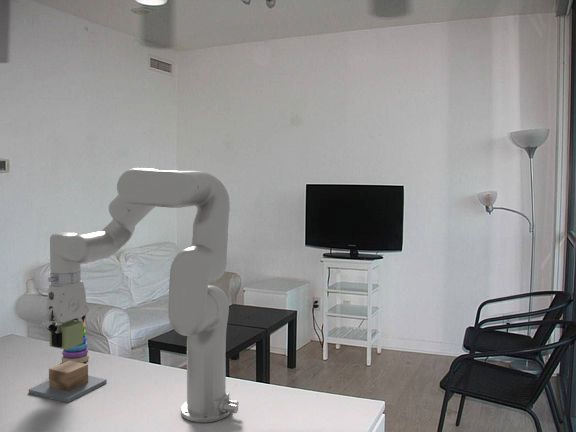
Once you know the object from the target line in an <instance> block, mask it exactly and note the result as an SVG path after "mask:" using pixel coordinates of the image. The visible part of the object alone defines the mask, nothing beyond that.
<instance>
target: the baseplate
mask: <svg viewBox="0 0 576 432" xmlns="http://www.w3.org/2000/svg"><path fill="white" fill-rule="evenodd" d="M105 384H107V379H106V378H102V377H101V378H100V377H96V376H92V375H88V382H87V383H85V384H83V385H81V386H79V387H77V388H74V389H72V390H70V391H65V390H61V389H57V388H53V387H49V380H47V381H45V382H43V383H40V384H38V385H36V386H33V387H31V388H29V389H28V394H30V395H31V394H32V395H35V396H38V397H43V398H45V399H46V398H47V399H51V400H55V401H58V402H63V403H65V404H67V403H70V402H72V401H74V400H76V399H78V398H80V397H82V396H85V394H87V393H90V392H92V391H94V390H96V389H97V388H99V387H101V386H104V385H105Z"/></svg>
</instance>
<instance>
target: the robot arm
mask: <svg viewBox="0 0 576 432" xmlns="http://www.w3.org/2000/svg"><path fill="white" fill-rule="evenodd" d="M116 191H117V194H118V195H116V196H115V198H114V199H113V200H112V201H111V202H110V203H109V204H108V213H109V215H110V216H111V218H112V220H111V221H110V222H109V223H108V224H107V225H106V226H105V227H104V228H103V229H101V230H100V231H94V232H88V233H82V234H79V233H76V232H71V231H64V232H63V231H62V232H61V231H60V232H55V233H52V234H51V235H50V238H49V260H50V261H49V267H50V268H49V269H50V272H49V273H50V274H49V276H50V277H48V278H47V279H48V283H50V284H49V286H48V288H47V289H48V291H47V297H46V314H45V315H44V317H43V319H42V321H41V322H40V323H41V325H42V326H43V327H45V328H46V330H47V331H48V333H49V332H51V338H52V346H54V347H53V348H56V347H58V348H57V349H60V347H62V333H60V330H61V326H62V323H65V322H68V321H71V320H75V321H81V322H83V321H84V322H85V319H86V318H87V317H86V316H87V314H88V313H89V311H90V308H89V307H88V306H87V297H86V296H87V295H86V294H87V293H86V289H85V285H84V281H83V280H81V277H82V276H81V275H82V273H81V269H82V268H81V264H87V263H92V262H95V261H98V260H100V261H101V260H104V259H108V258H110V257H111V256H113V255H114V254H116V253H117V252H118V251H119V250H121V248H122V247H124V246H125V245H126V244H127V243H128V242H129V241H130V240H131V238H132V236H133V235H134V233H135V229H136V226H137V225H138V224H139V223H140V222H141V221H142V220H144V218H145V217H146V216H147V215H148V214H149V213H151V211H153V209H154V208H155V207H159V208H170V209H177V208H178V209H179V208H180V209H181V208H188V207H189V208H190V207H193V206H194V207H196V209H197V210H196V214H195V217H194V220H193V224H192V238H191V246H190V247H187V248H184V249H181V250H180V251H179V252H178V253H177V254H176V255H175V256H174V259H173V260H172V263H171V265H170V269H169V285H168V306H167V308H168V310H167V313H168V315H167V316H168V320H169V323H170V325H171V327H172V329H174V331H175V333H177V334H179V335H181V336H184V337H185V336H186V337H187V339H186V401H185V402H184V403H183V404H182V405H181V407H180V415H181V416H182V417H183V418H184V419H185V420H187V421H190V422H193V423H213V422H216V421H220V420H223V419H224V418H227V417H228V416H229V415H230V414H237V413H238V411H239V401H238V400H232V399H231V398H230V392H227V391H226V386H227V385H226V383H227V382H226V380H227V379H226V377H227V375H226V373H227V372H226V371H227V370H226V367H227V366H226V362H227V361H226V360H227V358H226V349H227V346H226V345H227V328H228V321H229V314H230V313H229V311H230V304H229V303H230V302H229V299H228V296H227V294H226V292H225V291H224V290H223V289H221V288H220V287H219V286H216V285H212V284H211V283H213V282H215V281H217V280H219V279H221V278H222V277H223V275H224V274H225V272H226V269H227V263H228V262H227V261H228V243H229V242H228V241H229V238H228V237H229V222H230V221H229V219H230V209H231V208H230V205H231V204H230V198H229V197H230V196H229V193H228V191H227V188H226V186H225V185H224V183H223V182H222V181H221V180H219V179H218V178H217V177H216V176H215V175H212V174H210V173H208V172H205V171H199V170H159V169H156V168H149V167H148V168H146V167H144V168H143V167H141V168H140V167H134V168H133V167H132V168H130V169H127V170H126V171H124V172H123V173H122V174H121V175H120V176H119V178H118V181H117V185H116ZM209 284H210V285H209ZM56 323H57V326H56V327H55V325H56Z"/></svg>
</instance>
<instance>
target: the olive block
mask: <svg viewBox="0 0 576 432" xmlns="http://www.w3.org/2000/svg"><path fill="white" fill-rule="evenodd" d="M83 324H84V323H83V322H81V321H75V320H71V321H68V322H65V323H62V326H61V330H60V333H62V347H60V348H58V347H54V346H52V338H51V332H49V331H48V333H49V347H52V348H57V349H59V350H61V349H62V350H64V349H65V350H67V349H69V348H72V347H75V346H77V345H80V344H82V343H83ZM56 326H57V323H56V325H55V327H56Z"/></svg>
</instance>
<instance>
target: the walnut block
mask: <svg viewBox="0 0 576 432" xmlns="http://www.w3.org/2000/svg"><path fill="white" fill-rule="evenodd" d="M88 376H89V364H88V363H79V362H74V361H70V360H69V361H67V362H65V363H63V362H62V363H60V364H57V365H54V366H52V367H49V368H48V377H49V379H48V381H49V387H53V388H57V389H61V390H65V391H70V390H72V389H74V388H77V387H79V386H81V385H83V384H85V383H87V382H88Z"/></svg>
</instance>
